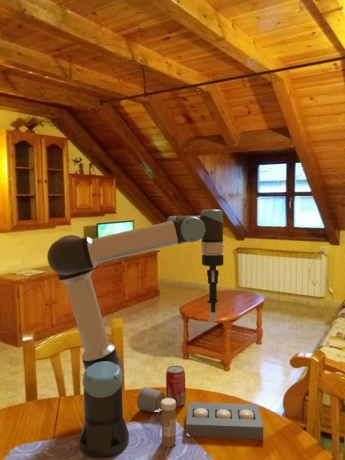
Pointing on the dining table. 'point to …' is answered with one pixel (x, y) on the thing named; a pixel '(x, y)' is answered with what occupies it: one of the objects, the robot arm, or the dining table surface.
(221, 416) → the middle button
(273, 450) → the dining table surface
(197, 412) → the left button
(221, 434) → the button board
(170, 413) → the sprinkles bottle
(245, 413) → the right button
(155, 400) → the ceramic mug
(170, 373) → the soda can
